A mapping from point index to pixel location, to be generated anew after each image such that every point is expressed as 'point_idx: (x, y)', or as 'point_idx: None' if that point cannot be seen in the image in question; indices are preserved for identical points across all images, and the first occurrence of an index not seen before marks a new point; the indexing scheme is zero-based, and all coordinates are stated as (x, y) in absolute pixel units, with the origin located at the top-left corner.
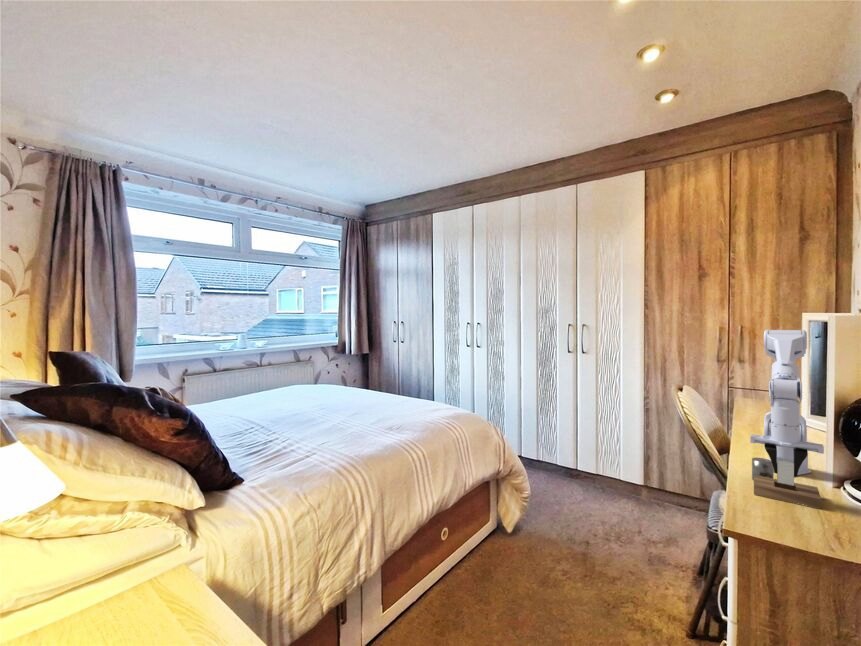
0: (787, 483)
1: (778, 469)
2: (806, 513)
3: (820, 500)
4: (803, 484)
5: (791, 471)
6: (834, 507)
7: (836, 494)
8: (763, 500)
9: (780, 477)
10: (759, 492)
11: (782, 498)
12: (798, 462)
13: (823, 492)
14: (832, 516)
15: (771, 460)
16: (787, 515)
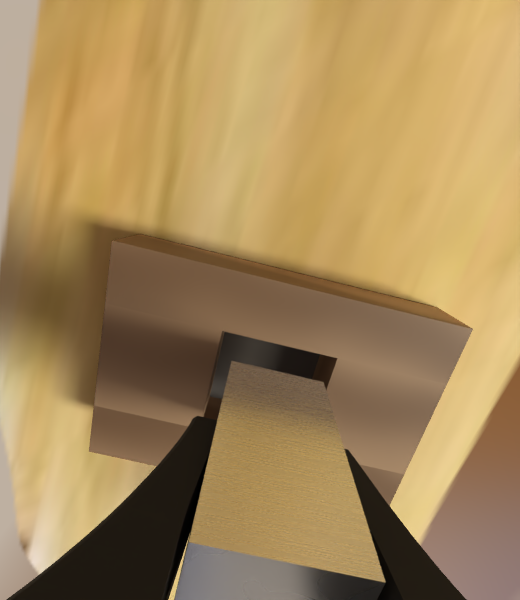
0: (268, 371)
1: (342, 461)
2: (240, 122)
3: (122, 239)
4: (150, 462)
5: (233, 441)
6: (71, 294)
7: (28, 470)
8: (417, 235)
9: (313, 404)
10: (421, 307)
11: (310, 279)
12: (122, 551)
13: (76, 473)
14: (111, 143)
15: (443, 577)
16: (369, 20)
